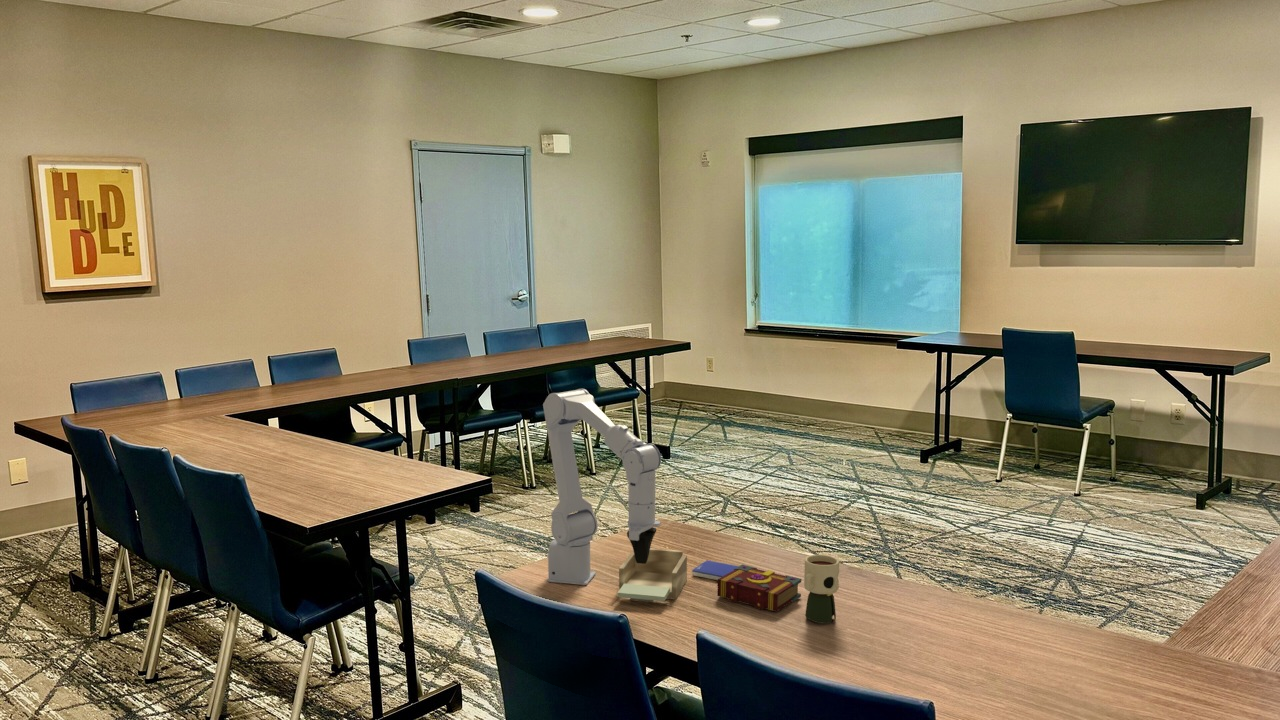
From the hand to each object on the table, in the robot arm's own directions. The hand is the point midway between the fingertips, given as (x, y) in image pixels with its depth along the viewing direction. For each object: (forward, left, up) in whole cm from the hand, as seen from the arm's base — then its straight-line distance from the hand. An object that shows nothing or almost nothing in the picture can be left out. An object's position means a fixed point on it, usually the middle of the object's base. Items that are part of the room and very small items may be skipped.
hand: (641, 562), depth 212 cm
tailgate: (0, +4, -8) cm, 8 cm away
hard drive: (+15, +21, -10) cm, 28 cm away
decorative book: (+24, +9, -10) cm, 27 cm away
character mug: (+38, 0, -10) cm, 39 cm away
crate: (0, +10, -9) cm, 14 cm away
